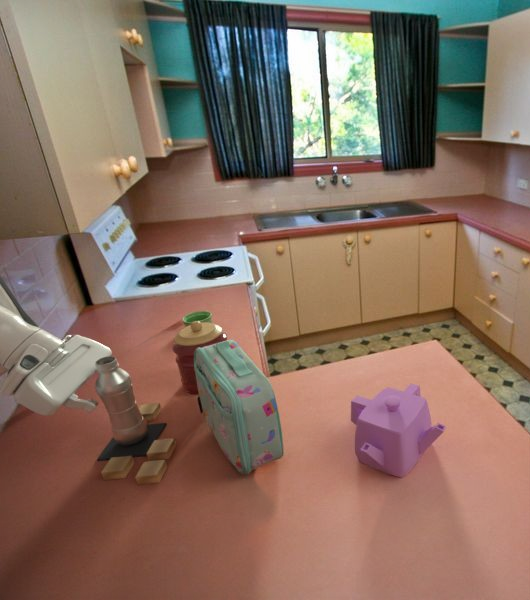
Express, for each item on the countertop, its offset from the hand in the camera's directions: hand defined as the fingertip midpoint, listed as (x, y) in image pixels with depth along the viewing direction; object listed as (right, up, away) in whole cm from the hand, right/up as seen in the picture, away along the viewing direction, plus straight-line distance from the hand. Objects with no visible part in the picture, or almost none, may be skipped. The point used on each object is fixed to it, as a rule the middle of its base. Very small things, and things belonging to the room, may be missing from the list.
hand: (107, 393), depth 87 cm
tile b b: (+10, -13, +2) cm, 17 cm away
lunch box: (+26, -11, +5) cm, 29 cm away
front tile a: (+11, -15, -4) cm, 20 cm away
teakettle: (+59, -12, +1) cm, 60 cm away
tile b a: (+4, -15, -2) cm, 16 cm away
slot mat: (+2, -12, +5) cm, 13 cm away
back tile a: (+1, -8, +14) cm, 16 cm away
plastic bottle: (+2, -11, +6) cm, 13 cm away
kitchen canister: (+9, -3, +26) cm, 28 cm away
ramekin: (-7, +10, +55) cm, 57 cm away
